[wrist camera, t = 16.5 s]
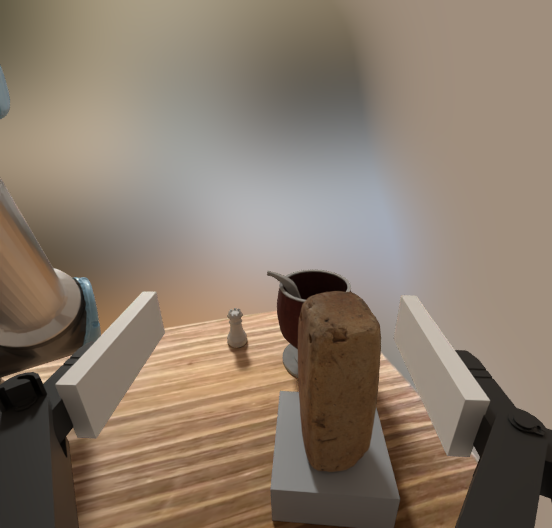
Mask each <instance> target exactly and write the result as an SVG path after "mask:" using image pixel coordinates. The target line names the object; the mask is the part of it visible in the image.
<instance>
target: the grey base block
mask: <svg viewBox="0 0 552 528" xmlns="http://www.w3.org/2000/svg"><path fill="white" fill-rule="evenodd" d="M399 502H400V497H399V493H398V489H397V485H396V481H395V477H394V474H393V470H392V466H391V462H390V458H389V454H388V450H387V447H386V443H385V439H384V435H383V431H382V427H381V423H380V420H379V416H378V412H377V408H376V411H375V418H374V425H373V430H372V437H371V442H370V447H369V449H368V451H367V452H365V453H364V456H363V457H362V458H361V459H359V460H358V461H357V463H356V464H355V465H354V466H353V467H350V468H349V469H348V470H343V471H337V472H328V471H318V470H316V469H314V468H313V467H312V466H311V464H310V463H309V461H308V458H307V455H306V452H305V448H304V442H303V436H302V428H301V417H300V401H299V392H289V391H280V396H279V406H278V417H277V427H276V438H275V448H274V459H273V469H272V480H271V506H272V520H274V521H285V522H297V523H308V524H320V525H331V526H343V527H354V528H394V525H395V520H396V516H397V511H398V507H399Z"/></svg>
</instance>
